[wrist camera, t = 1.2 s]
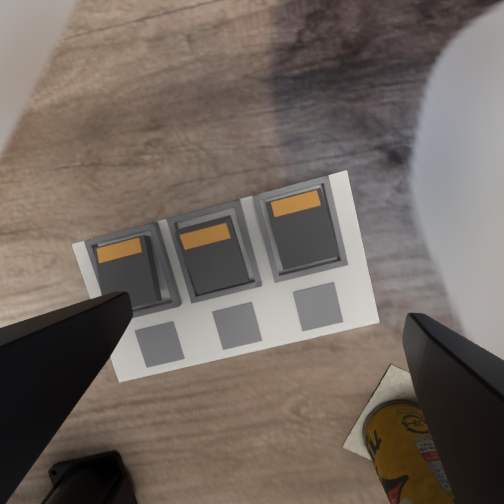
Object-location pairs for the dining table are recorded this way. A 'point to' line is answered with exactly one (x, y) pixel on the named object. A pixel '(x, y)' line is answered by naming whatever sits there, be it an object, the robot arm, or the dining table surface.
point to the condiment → (400, 444)
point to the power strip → (241, 288)
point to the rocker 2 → (302, 229)
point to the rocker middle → (212, 254)
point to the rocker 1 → (129, 270)
